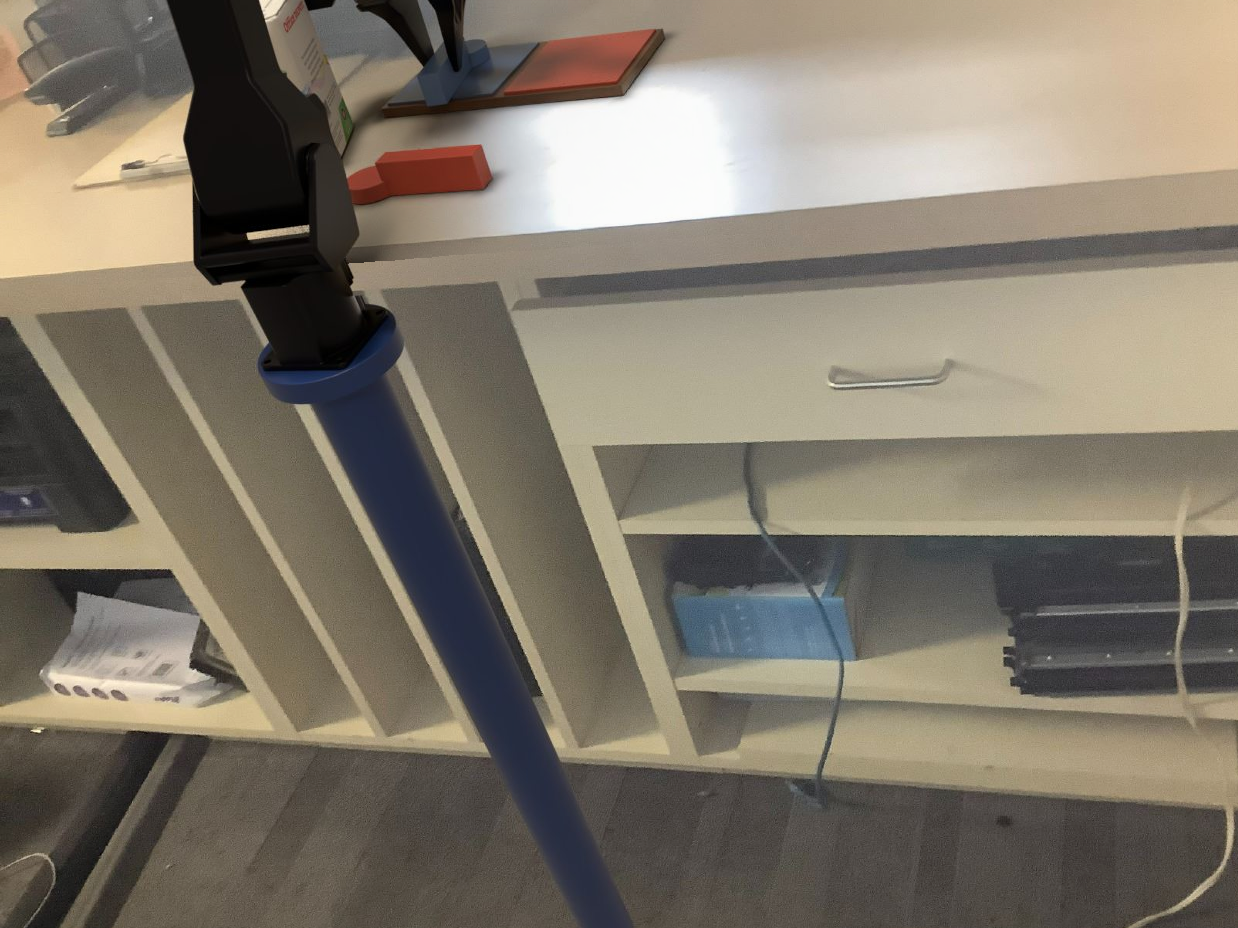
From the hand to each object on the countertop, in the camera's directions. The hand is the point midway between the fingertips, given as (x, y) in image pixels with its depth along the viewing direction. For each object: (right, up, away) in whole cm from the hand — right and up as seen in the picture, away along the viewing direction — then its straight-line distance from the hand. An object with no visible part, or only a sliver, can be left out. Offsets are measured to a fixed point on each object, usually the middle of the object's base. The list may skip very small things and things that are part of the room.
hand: (446, 72), depth 96 cm
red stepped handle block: (+1, -13, -12) cm, 18 cm away
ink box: (-10, -8, -2) cm, 13 cm away
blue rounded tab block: (0, 0, +2) cm, 2 cm away
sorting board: (+6, 0, +2) cm, 7 cm away
